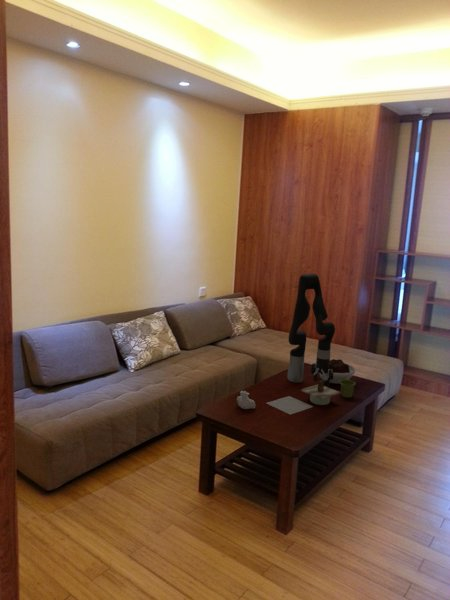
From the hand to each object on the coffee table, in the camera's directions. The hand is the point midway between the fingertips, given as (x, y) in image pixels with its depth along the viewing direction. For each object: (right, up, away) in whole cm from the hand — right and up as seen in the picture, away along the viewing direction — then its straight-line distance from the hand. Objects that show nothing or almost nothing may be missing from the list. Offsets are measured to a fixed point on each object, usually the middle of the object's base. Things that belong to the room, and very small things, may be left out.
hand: (321, 383), depth 280 cm
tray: (-19, -12, -5) cm, 23 cm away
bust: (-44, -12, -11) cm, 47 cm away
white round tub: (+16, -5, +38) cm, 42 cm away
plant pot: (+18, -10, +13) cm, 24 cm away
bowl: (0, -11, +2) cm, 11 cm away
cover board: (0, -5, +1) cm, 5 cm away
